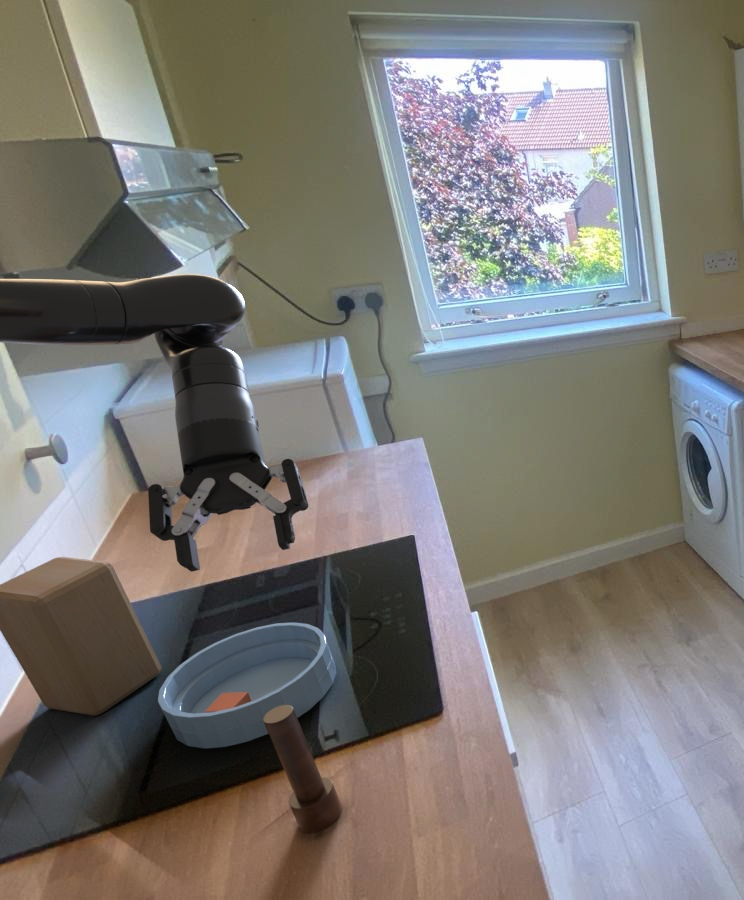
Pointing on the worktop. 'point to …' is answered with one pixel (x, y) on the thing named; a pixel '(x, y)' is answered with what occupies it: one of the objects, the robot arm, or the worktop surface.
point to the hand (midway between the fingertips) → (240, 558)
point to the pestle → (302, 772)
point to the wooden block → (76, 635)
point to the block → (229, 701)
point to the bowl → (247, 683)
